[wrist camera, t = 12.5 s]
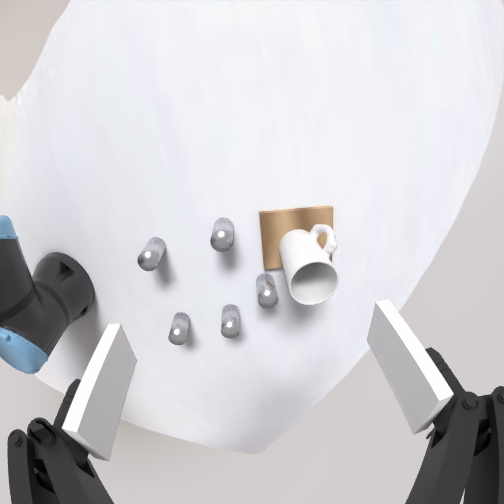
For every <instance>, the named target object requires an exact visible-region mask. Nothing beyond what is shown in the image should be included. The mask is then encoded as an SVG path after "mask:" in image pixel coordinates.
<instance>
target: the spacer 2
mask: <svg viewBox="0 0 504 504" xmlns="http://www.w3.org/2000/svg"><path fill="white" fill-rule="evenodd" d="M189 322H190V318H189V316H188V315H187V314H185V313H181V312H180V313H177V314H175V316H174V319H173V323H172V326H171V330H170V333H169V337H168V338H169V341H170V342H171V343H173V344H175V345H182V344H184V343H185V340H186V336H187V331H188V326H189Z"/></svg>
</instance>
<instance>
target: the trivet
mask: <svg viewBox="0 0 504 504" xmlns="http://www.w3.org/2000/svg"><path fill="white" fill-rule="evenodd" d="M259 214H260V225H261V237H262V249H263V261H264V270H265V269H274V268H283V264H282V260H281V256H280V252H279V244H280V241H281V239H282V237H283V236H284V235H285V234H286V233H288V232H289V231H292V230H295V229H302V230H306V231H308V232H309V233H310V231H311V230H312V228H313V227H314V225H316V224H322V225H328V226H330V227H331V228H332V229H333V207H332V206H323V207H309V208H297V209H285V210H274V211H263V212H259ZM317 242H318V244H319V245H320V247H321V248H322V250H323V248H324V247H325V245H326V242H327V234H326V232H323V233H321V234H320V235H319V237H318V238H317ZM329 260H330V261H331V262H332V253H331V254H330V256H329Z"/></svg>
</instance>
